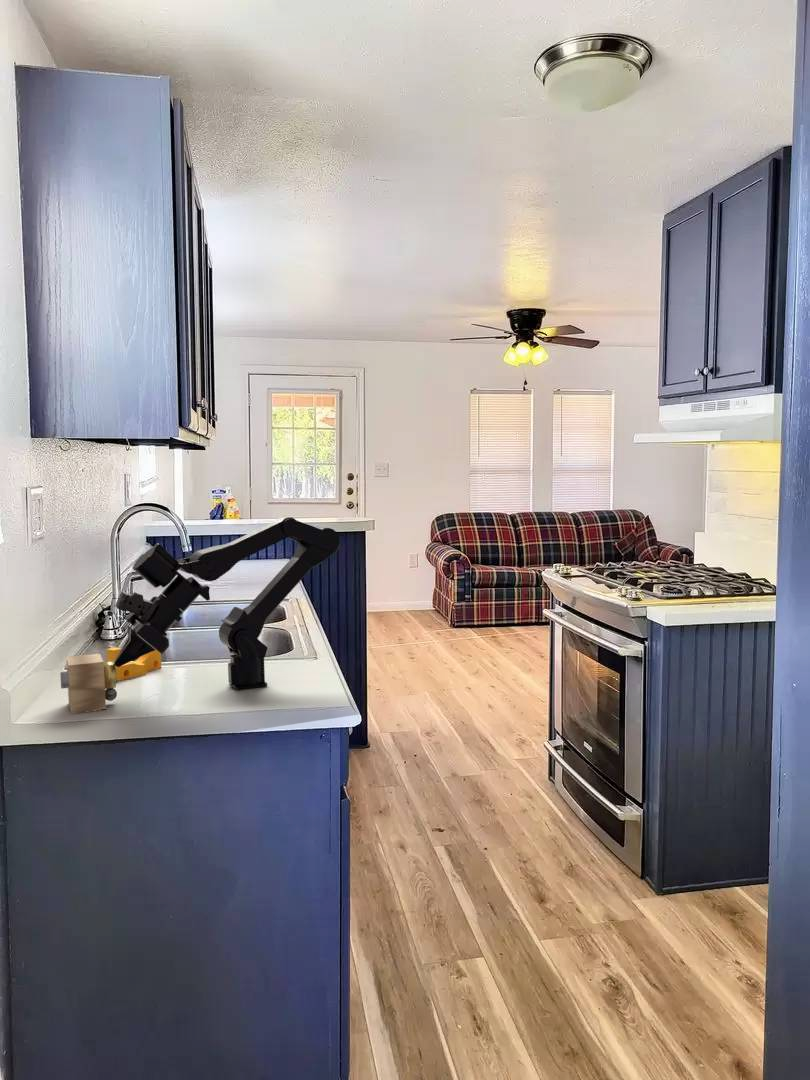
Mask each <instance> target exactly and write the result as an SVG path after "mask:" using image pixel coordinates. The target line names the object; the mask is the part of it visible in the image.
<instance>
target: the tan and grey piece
mask: <svg viewBox="0 0 810 1080" xmlns="http://www.w3.org/2000/svg"><path fill="white" fill-rule="evenodd" d="M59 676H60V688H61V689H68V688H69V671H68V672H67V671H60V672H59ZM104 679H105V700H106V701H108V702H111V701H114V700H115V699H116V698H117V696H118V692H117V690H116V688H117V680H116V668H115V662H114V661H112V662H107V661H104Z"/></svg>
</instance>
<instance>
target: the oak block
mask: <svg viewBox="0 0 810 1080" xmlns="http://www.w3.org/2000/svg"><path fill="white" fill-rule="evenodd" d="M104 662H105V661H104V659H103V657H102V655H101V654H100V653H92V654H81V655H75V656H66V672H68V671H69V688H67V694H68V695H67V697H68V706H70V707H69V709H70V715H74V714H73V713H76V714H82V713H81V712H83V713H88V712H87V711H91V712H95V711H94V710H99V711H102V710H101V709H106V710H107V703H106V701H107V700H106V699H105V690H106V689H105V679H104Z"/></svg>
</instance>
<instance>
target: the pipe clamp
mask: <svg viewBox="0 0 810 1080" xmlns="http://www.w3.org/2000/svg"><path fill="white" fill-rule="evenodd" d="M121 649H122V647H121V648H120V647H116V646H115V647H110V648H107V649H106V659H107V660H106V662H112V661H115V660H116V658H117V656H118V654H119V652H120V651H121ZM154 649H155V648H154ZM115 668H116V679H117V680H116V681H120V680H121V681H125V680H129V679H132V678H137V677H141V676H144V675H146V674H147V672H151V671H155V670H160V669H162V654H161V653H160V652H159V651H157V650H156V649H155V651H152V652H150V653H147V654H145V655H143V656H141V657H139V658H137V659H135V660H133V661H130V662H128V663H126V664H124V665H122V666H120V667H117V666H115ZM159 668H160V669H159ZM128 678H129V679H128ZM124 679H125V680H124Z"/></svg>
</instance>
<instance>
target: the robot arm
mask: <svg viewBox="0 0 810 1080" xmlns="http://www.w3.org/2000/svg"><path fill="white" fill-rule="evenodd" d="M287 538H288V539H289V540H290V539H291V540H293V541H295V542H298V544H297V546H296V549H295V552H294V553H293V556H292V557H291V559H289V561H288V562H287V563H286V564H285V565H284V566H283V567H282V568H281V569H280V570H279V571H278V573H277V574H275V576H274V577H273V578H272V579H271V581H269V582H268V584H267V585H266V586H264V588H263V590H261V592H259V594H258V595H257V596H256V597H255V598H254V599H253V600H252V602H251V603H250V604H248V606H245V607H244V608H240V607H238V606H234V607H233V608H232V609H231V610H230V612H229V614H228V615H227V616H226V617H225V618H223V619H221V620H220V622H221V625H220V627H219V629H218V637H219V640H220V642H221V643H222V645H225V647H227V648H228V651H229V653H230V662H228V663H227V671H228V672H227V674H228V675H227V676H228V683H229V685H230V686H231V687H233V688H234V689H235V690H245V689H254V688H260V687H267V686H268V682H266V674H265V658H266V654H267V651H268V646H267V645H265V644H264V643H263V642H262V641H261V640H260V639H259V637H260V636H261V633H262V631H263V629H264V626H265V623H266V621H267V619H268V618H269V617H270V615H271V614H272V613H273V612H274V611H275V610H276V609H277V608H278V606H279V605H280V604H281V603H282V602H283V601H284V600H285V598H286V597H287V596H288V595H290V593H291V592H292V591H293V589H295V587H296V586H297V585H298V584H299V583H300V582H301V581H302V580H303V578H304V577H305V576H306V575H307V574H308V573H309V572H310V570H312V568H315V567H316V566H318V565H320V564H322V563H323V562H325V561H326V560H328V559H329V558H330V557H331V556H333V555H334V554H335V553H337V552H338V550H339V548H340V545H341V542H340V536H339V534H338V532H337V531H336V530H335V529H333V528H330V527H325V526H324V527H323V526H322V527H321V526H314V525H311V524H308V523H305V522H301V521H299V520H296V518H294V517H287V516H280V517H279V518H277V519H276V520H275V521H272V522H270V523H268V524H266V525H264V526H262V527H260V528H258V529H256V530H254V531H252V532H249V533H247V534H245V535H243V536H240V537H239V538H236V539H234V540H233V541H230V542H228V543H224V544H220V545H214V546H211V547H206V548H203V549H200V550H196V551H195V552H193V553H192V554H191V555H190V556H189V557H185V558H179V559H176V558H175V557H174V556H173V555H171V554H170V553H169V552H168V551H167V550H166V549H165V547H164V546H163V545H161V543H156V544H154V546H152V547H151V548H149V549H148V550H146V552H144V553H142V554H141V555H140V556H139V557H138V558H137V560H136V561H135V563H134V564H133V566H132V570H134V572H135V573H137V574H138V575H139V576H140V577H141V578H143V580H144V581H146V582H147V583H149V584H150V585H151V586H152V587H154V588H159V587H162V588H164V590H163V591H162V592H161V593H160V594H159V595H158V596H157V595H155V596H152V597H151V598H150V600H148V599H145V598H144V595H143V594H142V593H137V592H133V593H129V592H126V591H124V590H121V591H120V593H119V596H118V599H117V601H116V602H115V605H114V607H116V609H117V610H120V611H121V612H128V613H129V614H128V615H127V616H126V617H125V618H124V619H125V621H127V622H128V623H130V624H131V626H129V625H128V624H127V625H126V629H127V631H126V632H127V638H126V639H125V642H124V643H123V645H122V647H121V651H120V652H119V654H118V656H117V658H116V660H115V661H114V662H115V666H117V667H120V666H122V665H124V664H126V663H128V662H133V661H135V660H137V659H139V658H140V657H141V656H143V655H145V654H147V653H150V652H152V651H155V649H156V650H157V651H159V652H160V653H161V655H163V654H164V653H165V651H166V650H168V648H169V647H170V643H169V642H170V640H169V638H168V637H167V635H168V633H167V632H168V631H169V630H170V629H171V627H172V626H173V625H174V624H175V623H176V622H177V623H178V622H180V621H181V620H182V619H183V617H182V615H184V612H185V611H187V610H188V608H189V607H191V605H192V604H193V603H194V602H195V601H196V600H197V598H198V597H201V598H202V599H204V600H205V601H210V600H211V597H210V590H211V589H210V588H211V587H210V586H209V585H208V584H204V585H202V584H201V583H199V581H197V580H196V579H195V578H197V579H200V580H203V581H205V582H213V581H217V580H218V579H219V578H221V577H222V576H223V575H225V574H226V573H229V571H231V570H232V569H233V567H234V566H236V565H237V564H238V563H239V562H241V561H242V560H244V559H246V558H248V557H250V556H252V555H254V554H256V553H259V552H260V551H262V550H264V549H266V548H269V547H271V546H273V545H275V544H277V543H279V542H282V541H283V540H285V539H287ZM179 571H181V572H183V573H186V574H189V575H191V576H190V577H188V578H186V577H184V576H183V575H182V574H181V573H180V572H179ZM192 575H193V576H194V577H193V576H192ZM154 648H155V649H154ZM253 687H254V688H253Z"/></svg>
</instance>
